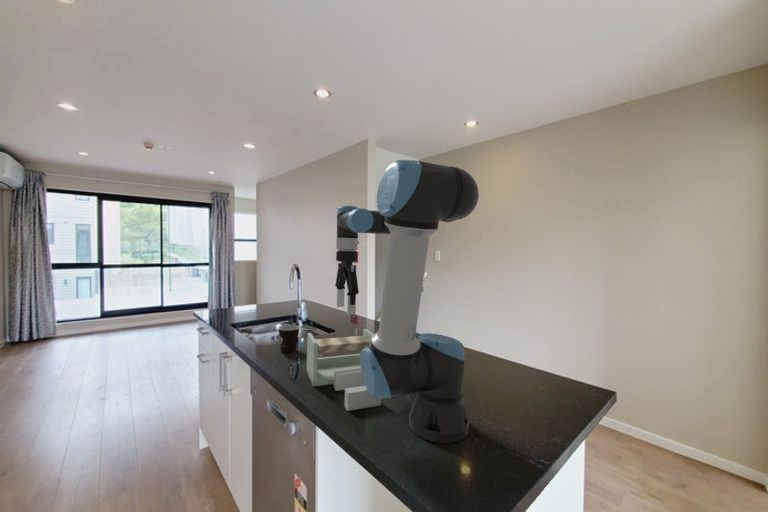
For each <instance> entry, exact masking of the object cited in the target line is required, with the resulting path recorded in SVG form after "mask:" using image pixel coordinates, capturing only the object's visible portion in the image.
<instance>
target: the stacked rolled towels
mask: <svg viewBox="0 0 768 512" xmlns="http://www.w3.org/2000/svg"><path fill="white" fill-rule="evenodd" d="M315 340H316V341H317V343H318V353H319V354H321V353H323V354H328V353H329V354H331V353H340V352H348V351H349V352H350V351H359V350H361V351H362V349H363V348H366V347H370V341H369V340H368V339H366V338H365V337H364V336H363V335H354V336H351V335H350V336H341V337H340V336H339V337H329V338H317V339H316V338H315Z"/></svg>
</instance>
